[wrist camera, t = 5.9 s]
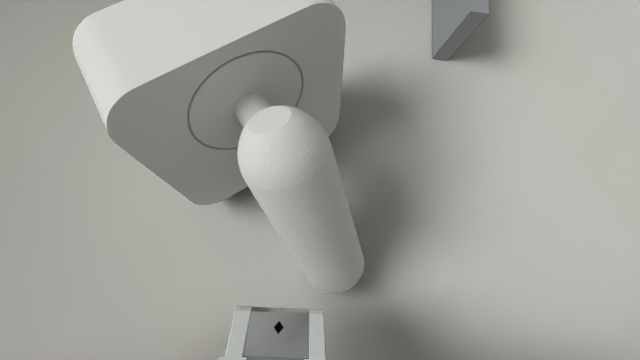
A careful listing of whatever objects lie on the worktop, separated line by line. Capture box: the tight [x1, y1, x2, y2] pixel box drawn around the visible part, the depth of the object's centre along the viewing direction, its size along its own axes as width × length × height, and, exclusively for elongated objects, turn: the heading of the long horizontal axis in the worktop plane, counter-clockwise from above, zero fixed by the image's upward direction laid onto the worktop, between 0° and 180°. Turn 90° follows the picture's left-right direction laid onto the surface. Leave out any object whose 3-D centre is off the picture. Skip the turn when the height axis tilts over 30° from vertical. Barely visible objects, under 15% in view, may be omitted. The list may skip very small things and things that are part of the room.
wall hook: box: [72, 0, 364, 294], centre depth 12 cm, size 8×10×10 cm
